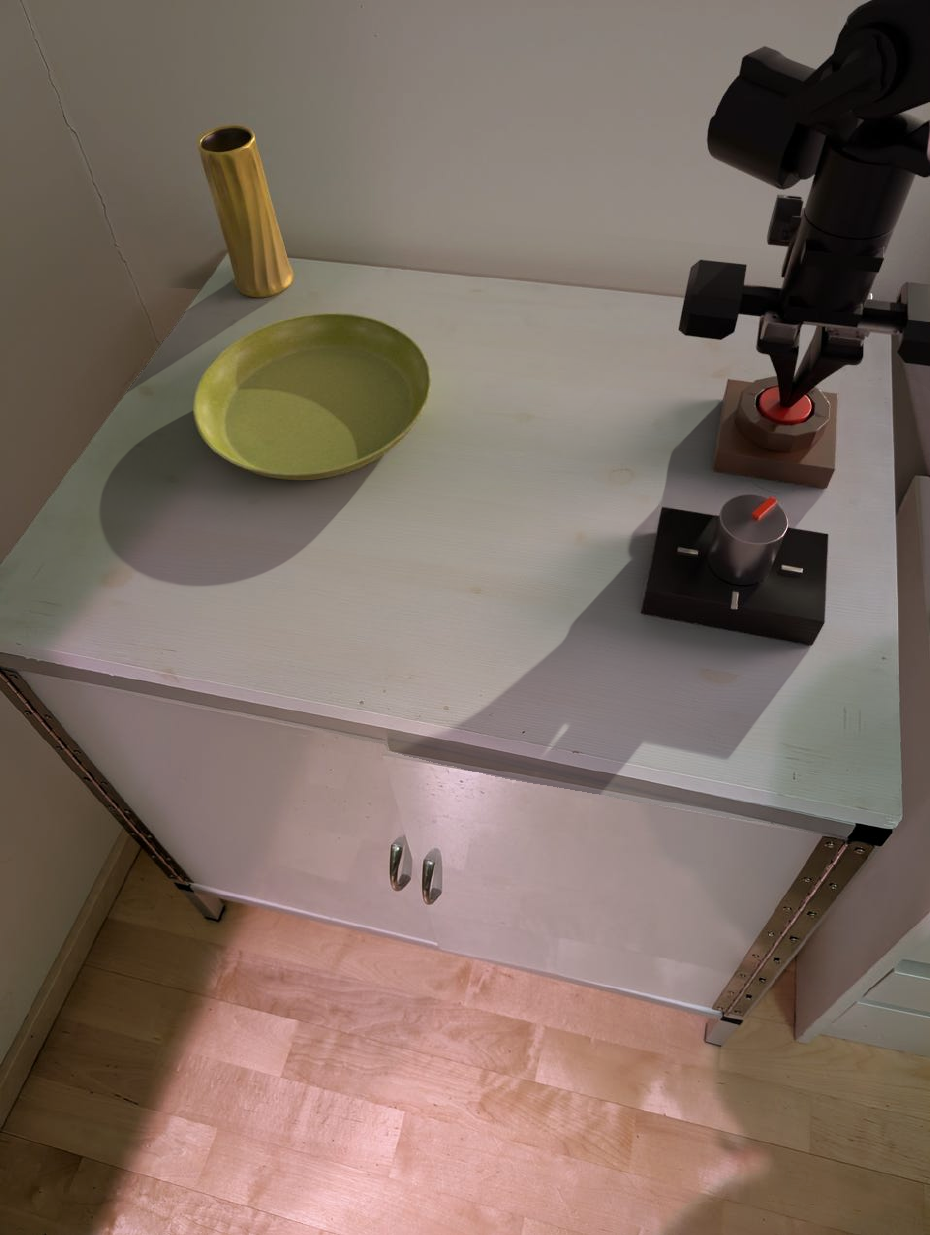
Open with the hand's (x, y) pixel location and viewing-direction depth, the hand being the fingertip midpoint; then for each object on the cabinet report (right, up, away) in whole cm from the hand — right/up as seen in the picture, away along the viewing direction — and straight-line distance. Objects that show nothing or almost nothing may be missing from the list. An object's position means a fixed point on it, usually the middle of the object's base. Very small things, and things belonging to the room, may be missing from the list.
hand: (785, 403), depth 67 cm
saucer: (-39, +1, +8) cm, 40 cm away
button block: (0, -2, +3) cm, 4 cm away
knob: (-6, -13, -7) cm, 16 cm away
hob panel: (-6, -15, -5) cm, 17 cm away
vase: (-46, +18, +21) cm, 54 cm away
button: (0, -1, +1) cm, 2 cm away
